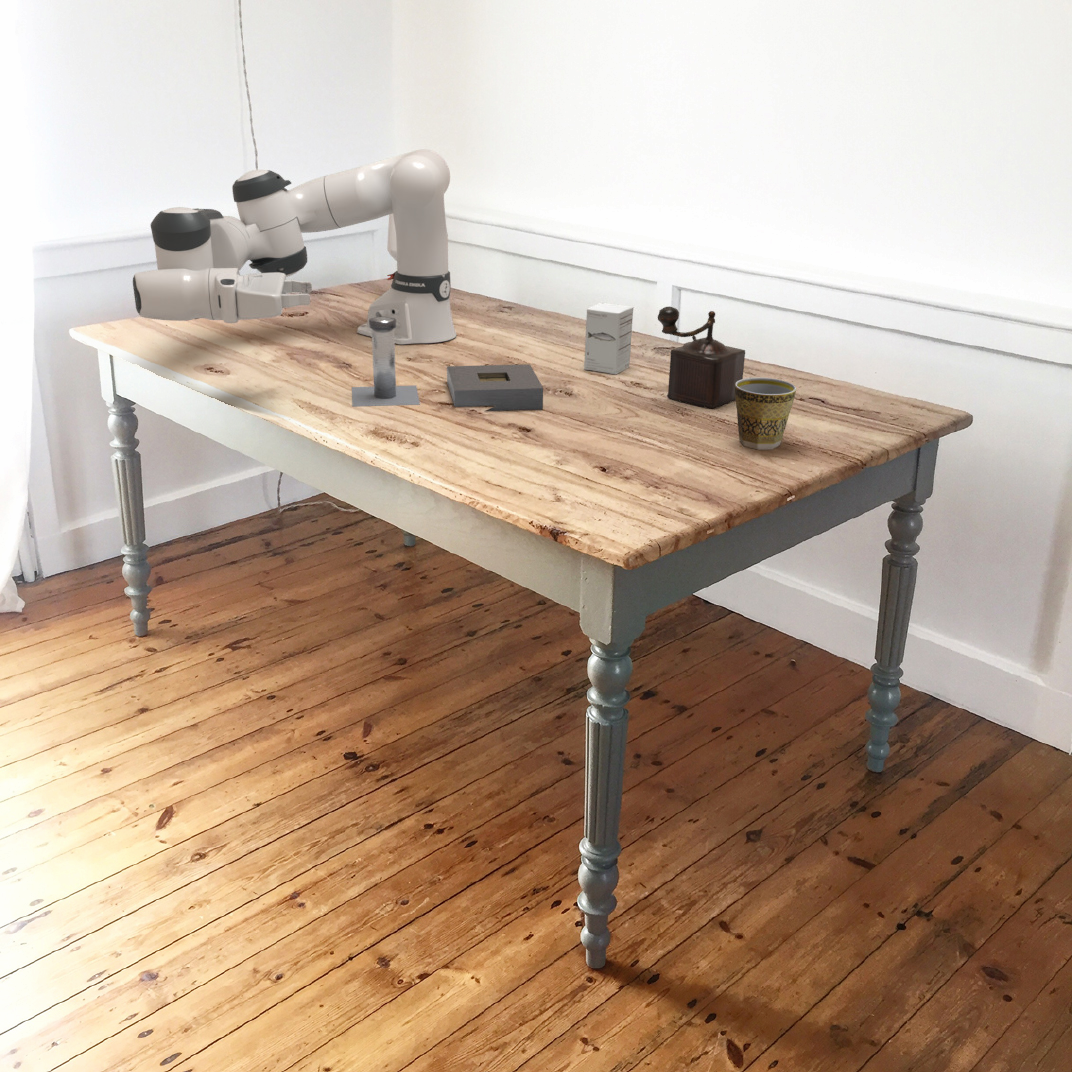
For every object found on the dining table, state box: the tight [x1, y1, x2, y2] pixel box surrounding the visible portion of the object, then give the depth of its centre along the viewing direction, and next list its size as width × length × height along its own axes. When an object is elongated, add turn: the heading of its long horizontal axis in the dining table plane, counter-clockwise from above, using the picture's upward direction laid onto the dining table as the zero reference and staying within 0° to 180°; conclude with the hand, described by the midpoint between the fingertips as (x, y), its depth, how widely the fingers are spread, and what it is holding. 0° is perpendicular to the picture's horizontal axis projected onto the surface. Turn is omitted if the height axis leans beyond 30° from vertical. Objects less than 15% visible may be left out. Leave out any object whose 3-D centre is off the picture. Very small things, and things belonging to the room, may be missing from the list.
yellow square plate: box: [479, 378, 506, 382], centre depth 213 cm, size 5×5×1 cm
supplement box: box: [583, 302, 634, 376], centre depth 231 cm, size 7×7×13 cm
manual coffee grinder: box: [657, 306, 746, 410], centre depth 211 cm, size 16×11×18 cm
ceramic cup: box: [734, 377, 797, 451], centre depth 192 cm, size 13×10×10 cm
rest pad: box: [351, 385, 421, 408], centre depth 211 cm, size 12×12×1 cm
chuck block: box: [446, 363, 544, 412], centre depth 213 cm, size 16×16×4 cm
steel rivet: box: [369, 317, 397, 399], centre depth 208 cm, size 5×5×14 cm
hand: (310, 293), depth 201 cm, fingers open, 8 cm apart
